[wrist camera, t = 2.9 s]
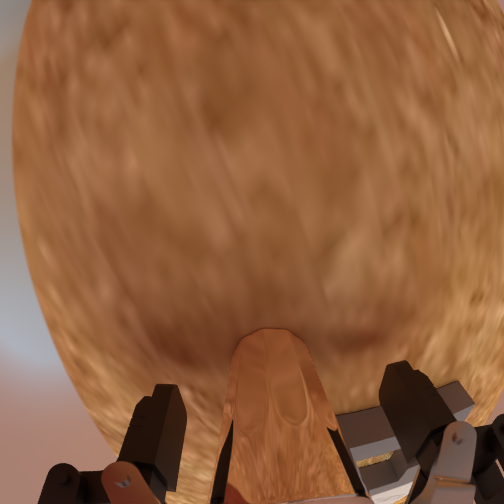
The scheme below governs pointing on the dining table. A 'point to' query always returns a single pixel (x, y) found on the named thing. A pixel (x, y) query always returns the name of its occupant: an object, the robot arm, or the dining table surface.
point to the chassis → (391, 440)
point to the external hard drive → (392, 495)
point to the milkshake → (281, 431)
